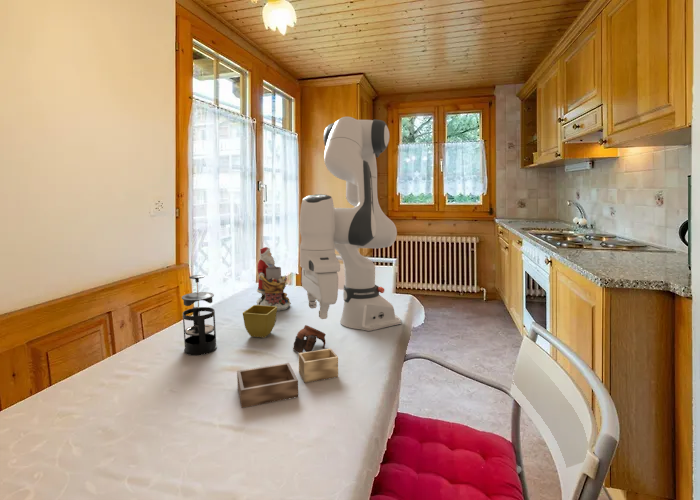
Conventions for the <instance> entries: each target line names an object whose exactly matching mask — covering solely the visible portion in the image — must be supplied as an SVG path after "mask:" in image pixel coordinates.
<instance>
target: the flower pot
mask: <svg viewBox="0 0 700 500" xmlns="http://www.w3.org/2000/svg"><path fill="white" fill-rule="evenodd" d="M277 313H278V311H277V307H275V306H262V305H257V304H254V305H251V306H250V307H249V308H247V309H246V310H244V311H243V312H242V318H243V323H244V327H245V330H246V332H247V333H248V335H249V336H250V337H253V338H261V339H262V338H263V339H264V338H266V337H268V336H269V335H270V334H271V333H272V331H273V329H274V327H275V325H276V321H277Z"/></svg>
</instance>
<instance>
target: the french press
mask: <svg viewBox="0 0 700 500" xmlns="http://www.w3.org/2000/svg"><path fill="white" fill-rule="evenodd" d="M203 278H205V275H203V274H196V275H191V276H189V279H193V280H195V283H196V292H191V293H185V294H184V295H182V296H181V300H183V306H185V307H190V306H192V305H193V304H195V303H196V302H197V306H193V307H191V308H188V309H186V310H184V311H183V312H182V324H183V326H182V327H183V339H184V340H183V342H184V350H183V351H184V352H183V353H184V354H185V355H188V356H194V357H195V356H204V355H205V356H206V355H208V354H211V353H213V352H215V351H216V350H217V348H218V345H217V333H216V314H215V313H216V312H215V311H216V310H215V309H214V308H213V307H207V306H200V301H203V302H207V303H208V304H212V303H213V300H214V299H213V298H214V296H215V294H214V293H213V292H207V291H199V283H200V280H199V279H203ZM201 312H209V313H207V314H202V315H201ZM189 314H192V315H189ZM211 318H213V320H212V321H213V325H212V324H206V323H205V322H206V320H208V319H211ZM185 321H191V322H192V321H193V326H190V327H187V328H186V325H185ZM212 332H213V334H212ZM186 335H187V337H186Z"/></svg>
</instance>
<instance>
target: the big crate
mask: <svg viewBox="0 0 700 500" xmlns="http://www.w3.org/2000/svg"><path fill="white" fill-rule="evenodd" d="M236 374H237V375H236V378H237V379H236V381H237V391H238V395H239V396H238V397H239V400H240V406H241V408H242V409H243V408H249V407H254V406H258V405H264V404H270V403H274V402H275V403H276V402H279V401H280V402H281V401H285V399H286V400H290V399H289V398H291V399H295V398H294V397H296V398H299V380H298V378H297V375H296V373H295V372H294V369H293V368H292V366H291V364H290V363H289V362H287V363H281V364H280V363H279V364H273V365H267V366H266V365H265V366H260V367H253V368H248V369H241V370H237V371H236Z"/></svg>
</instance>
